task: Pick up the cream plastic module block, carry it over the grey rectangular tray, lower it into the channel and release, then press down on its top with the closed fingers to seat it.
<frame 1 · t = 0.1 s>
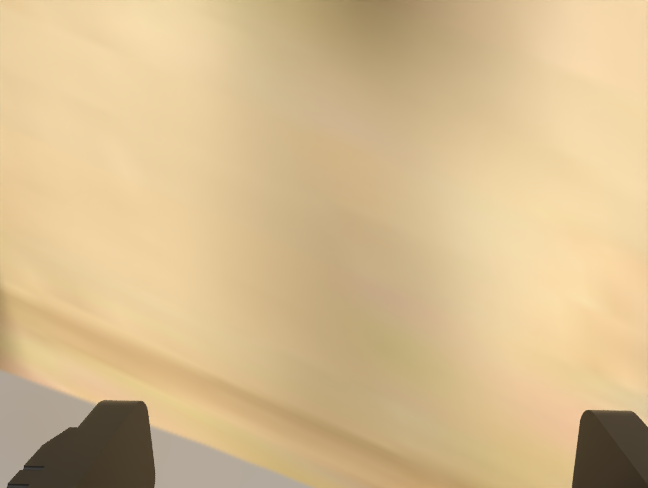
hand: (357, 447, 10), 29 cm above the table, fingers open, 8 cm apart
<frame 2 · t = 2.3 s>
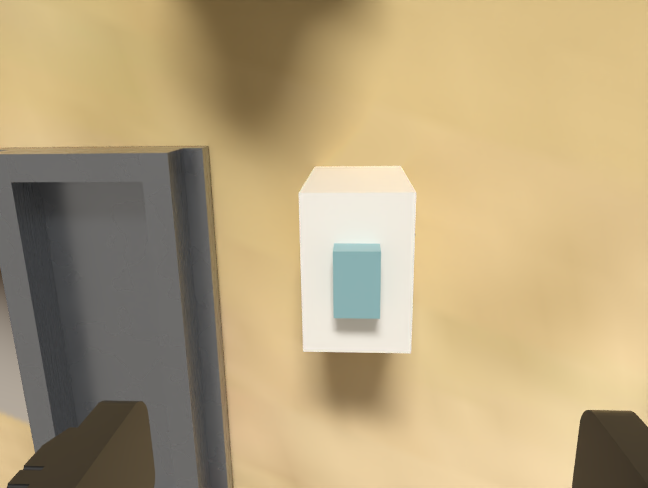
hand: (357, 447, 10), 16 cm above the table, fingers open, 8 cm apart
grey rectangular tray: (130, 356, 28), on the table
module: (357, 228, 26), on the table
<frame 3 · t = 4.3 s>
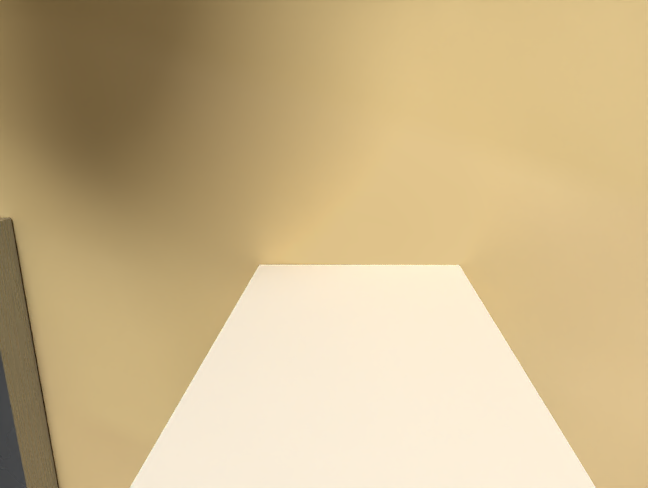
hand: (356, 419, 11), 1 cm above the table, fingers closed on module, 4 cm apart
module: (358, 397, 11), on the table, touching gripper
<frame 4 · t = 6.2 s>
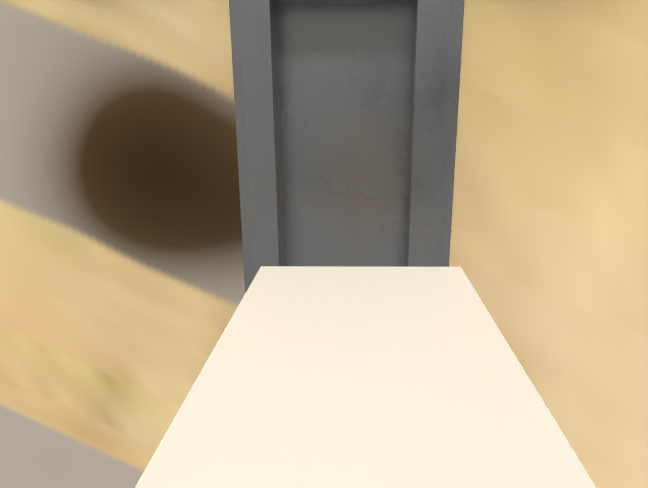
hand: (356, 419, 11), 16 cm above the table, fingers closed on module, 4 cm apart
grey rectangular tray: (345, 222, 26), on the table
module: (359, 399, 11), point 15 cm above the table, touching gripper
when the fingers open (3 cm above the table, at t = 8.0 s): module drops 2 cm, resting on grey rectangular tray.
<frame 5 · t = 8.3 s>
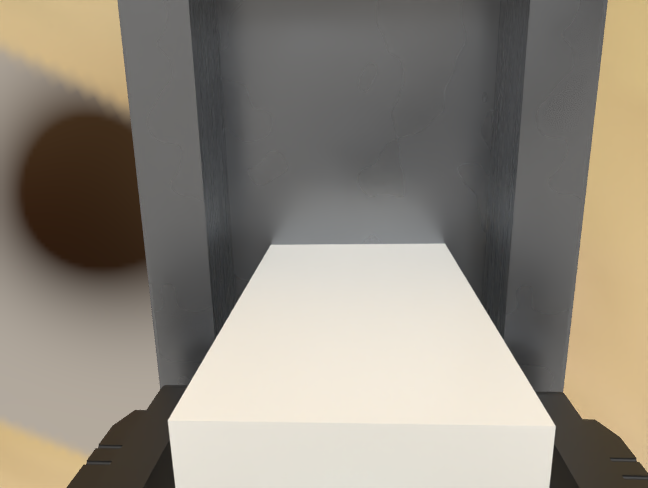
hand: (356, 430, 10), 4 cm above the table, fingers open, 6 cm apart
grey rectangular tray: (356, 344, 14), on the table
module: (357, 362, 13), point 1 cm above the table, touching grey rectangular tray
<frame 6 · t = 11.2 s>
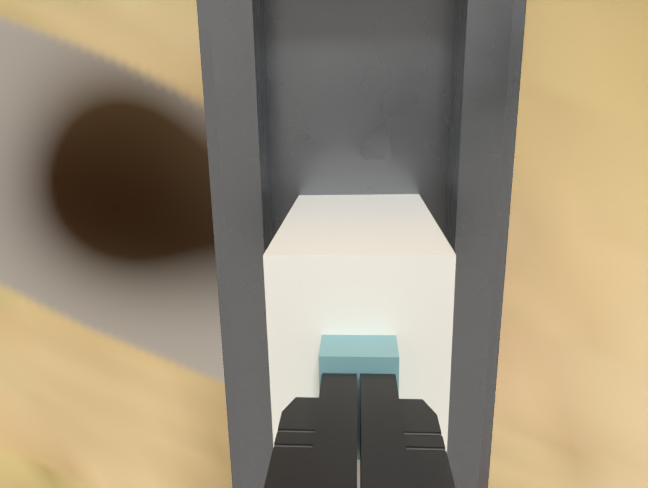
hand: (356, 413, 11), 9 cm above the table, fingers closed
grey rectangular tray: (358, 270, 20), on the table
module: (358, 279, 19), point 1 cm above the table, touching gripper, grey rectangular tray
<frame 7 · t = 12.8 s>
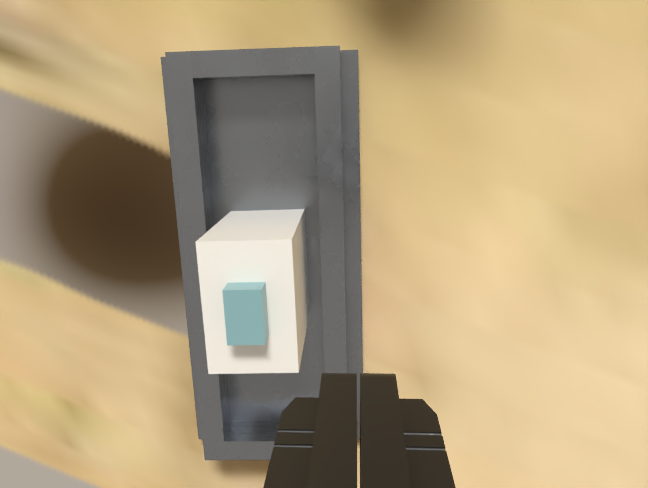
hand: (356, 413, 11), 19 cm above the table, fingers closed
grey rectangular tray: (272, 258, 30), on the table
module: (270, 263, 29), point 1 cm above the table, touching grey rectangular tray
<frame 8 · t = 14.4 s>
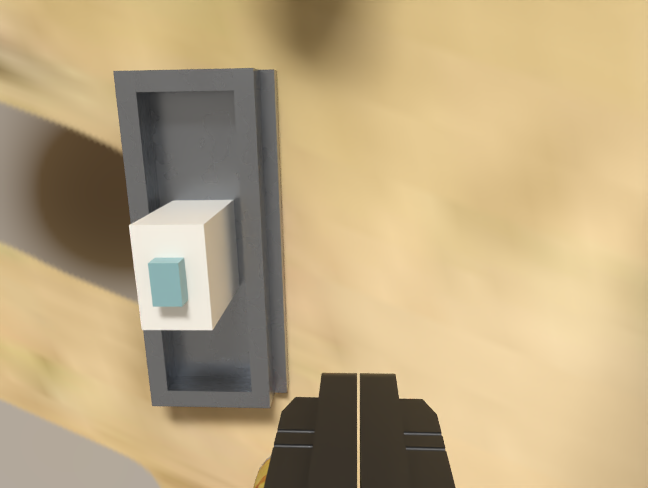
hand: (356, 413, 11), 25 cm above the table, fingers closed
grey rectangular tray: (210, 240, 36), on the table
module: (206, 244, 35), point 1 cm above the table, touching grey rectangular tray
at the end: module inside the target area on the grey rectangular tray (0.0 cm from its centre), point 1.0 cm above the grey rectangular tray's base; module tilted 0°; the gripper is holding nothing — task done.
